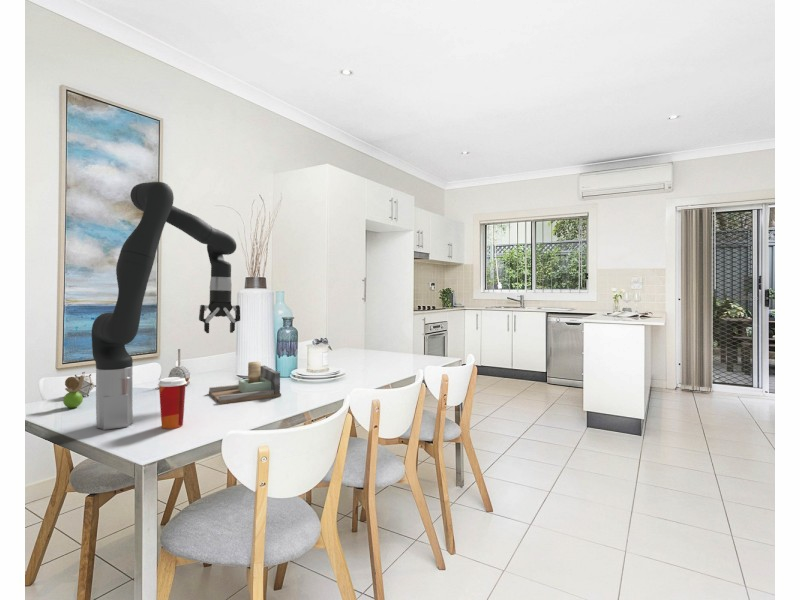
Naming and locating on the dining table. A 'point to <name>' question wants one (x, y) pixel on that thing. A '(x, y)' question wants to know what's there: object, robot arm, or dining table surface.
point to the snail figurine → (73, 391)
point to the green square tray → (254, 385)
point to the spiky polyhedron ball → (86, 385)
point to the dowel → (254, 372)
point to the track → (234, 395)
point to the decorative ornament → (180, 371)
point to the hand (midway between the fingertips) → (219, 332)
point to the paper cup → (172, 401)
